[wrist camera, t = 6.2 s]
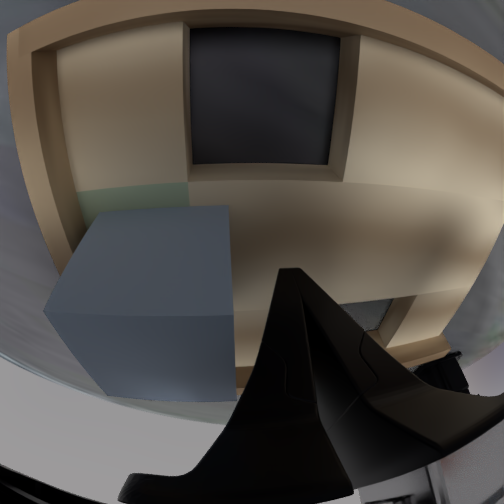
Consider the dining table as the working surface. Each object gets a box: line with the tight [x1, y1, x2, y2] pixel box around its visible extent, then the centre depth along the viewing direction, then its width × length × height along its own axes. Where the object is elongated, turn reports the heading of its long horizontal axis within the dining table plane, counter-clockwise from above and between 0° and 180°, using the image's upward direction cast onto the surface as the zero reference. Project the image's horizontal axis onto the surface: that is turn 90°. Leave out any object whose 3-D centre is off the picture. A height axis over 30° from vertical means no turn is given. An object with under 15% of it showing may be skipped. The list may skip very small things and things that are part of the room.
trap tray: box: [7, 0, 504, 395], centre depth 11 cm, size 18×22×3 cm
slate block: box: [43, 205, 237, 402], centre depth 8 cm, size 4×4×4 cm
